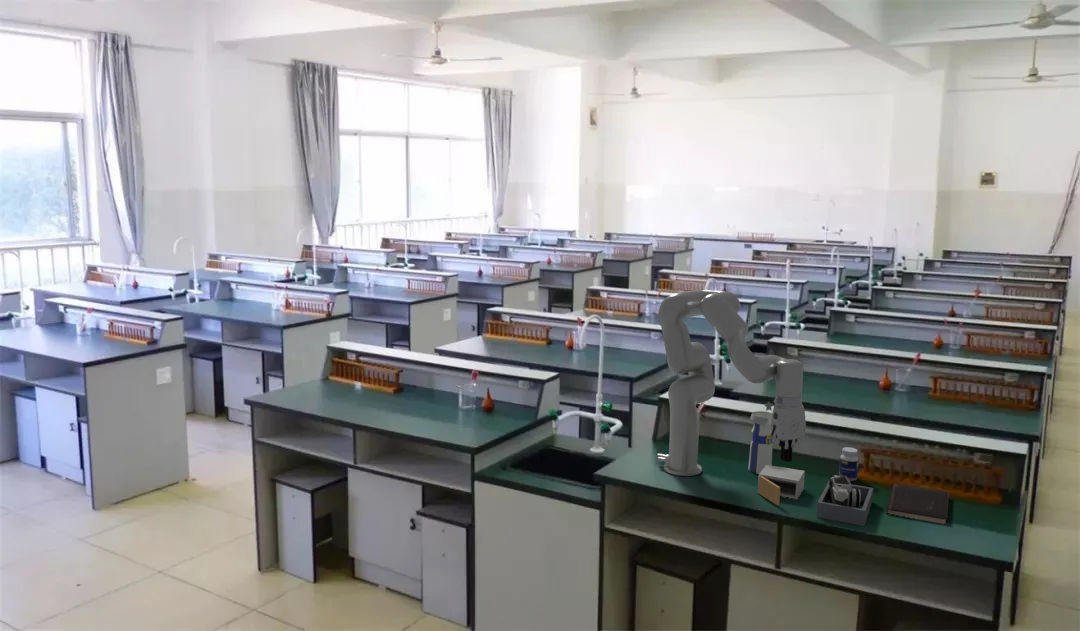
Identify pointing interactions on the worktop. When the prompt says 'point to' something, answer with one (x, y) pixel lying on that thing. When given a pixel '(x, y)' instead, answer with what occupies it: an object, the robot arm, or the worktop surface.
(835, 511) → the box
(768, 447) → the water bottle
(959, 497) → the worktop surface
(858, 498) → the camera
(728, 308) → the robot arm
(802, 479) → the box
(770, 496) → the side door
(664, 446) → the worktop surface
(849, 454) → the pill bottle
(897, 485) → the hardcover book
